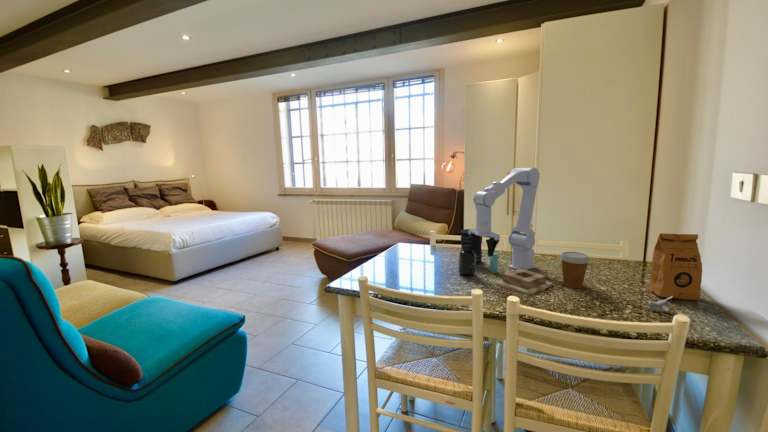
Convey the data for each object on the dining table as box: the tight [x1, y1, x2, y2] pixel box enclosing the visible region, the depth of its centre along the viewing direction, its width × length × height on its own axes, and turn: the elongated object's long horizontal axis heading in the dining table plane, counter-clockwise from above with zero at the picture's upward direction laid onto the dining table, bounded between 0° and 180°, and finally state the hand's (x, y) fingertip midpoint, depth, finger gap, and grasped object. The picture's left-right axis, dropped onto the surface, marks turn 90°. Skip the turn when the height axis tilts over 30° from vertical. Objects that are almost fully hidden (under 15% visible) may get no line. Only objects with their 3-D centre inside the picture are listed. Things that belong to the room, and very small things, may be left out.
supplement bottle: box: [458, 245, 476, 276], centre depth 143 cm, size 7×7×12 cm
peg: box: [489, 252, 499, 274], centre depth 146 cm, size 3×3×8 cm
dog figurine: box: [647, 296, 674, 313], centre depth 105 cm, size 3×8×6 cm
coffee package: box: [648, 232, 703, 301], centre depth 115 cm, size 10×12×22 cm
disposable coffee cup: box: [559, 251, 590, 289], centre depth 127 cm, size 10×10×12 cm
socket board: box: [494, 269, 554, 296], centre depth 130 cm, size 16×14×4 cm
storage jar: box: [460, 228, 483, 266], centre depth 160 cm, size 10×10×15 cm
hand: (483, 254), depth 138 cm, fingers open, 7 cm apart
